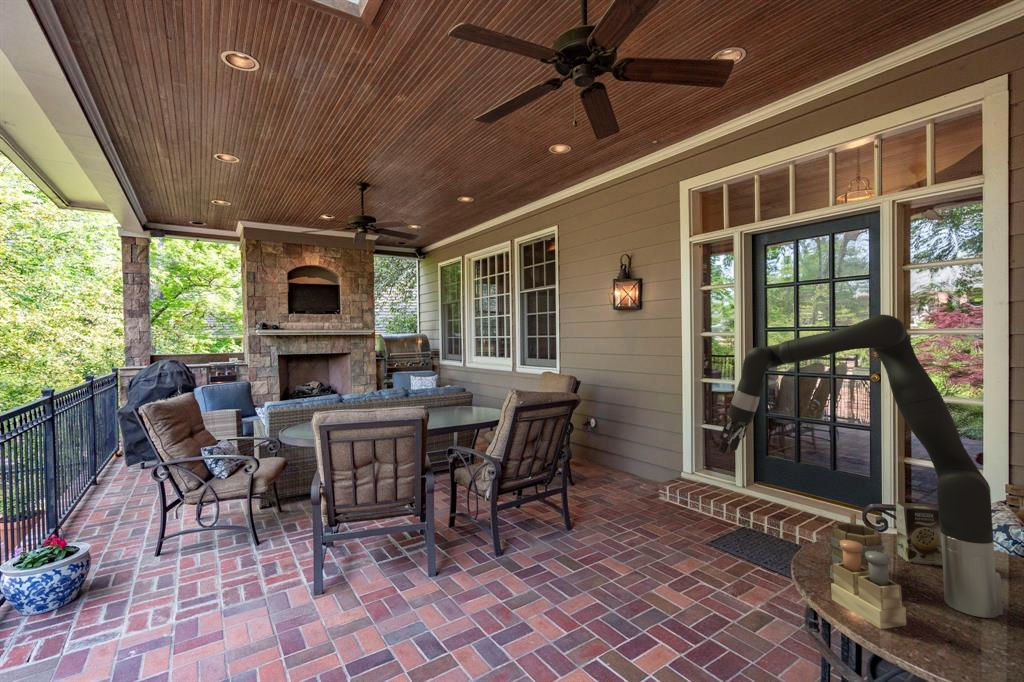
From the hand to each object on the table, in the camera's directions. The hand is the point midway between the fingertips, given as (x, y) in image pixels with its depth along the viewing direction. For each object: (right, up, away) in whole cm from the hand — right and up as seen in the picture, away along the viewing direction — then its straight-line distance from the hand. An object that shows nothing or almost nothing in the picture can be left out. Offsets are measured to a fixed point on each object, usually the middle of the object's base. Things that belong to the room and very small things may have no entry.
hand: (727, 450), depth 152 cm
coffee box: (+51, -30, -15) cm, 61 cm away
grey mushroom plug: (+15, -21, -44) cm, 51 cm away
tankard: (+26, -30, -23) cm, 46 cm away
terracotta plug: (+14, -21, -37) cm, 45 cm away
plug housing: (+14, -29, -41) cm, 52 cm away
